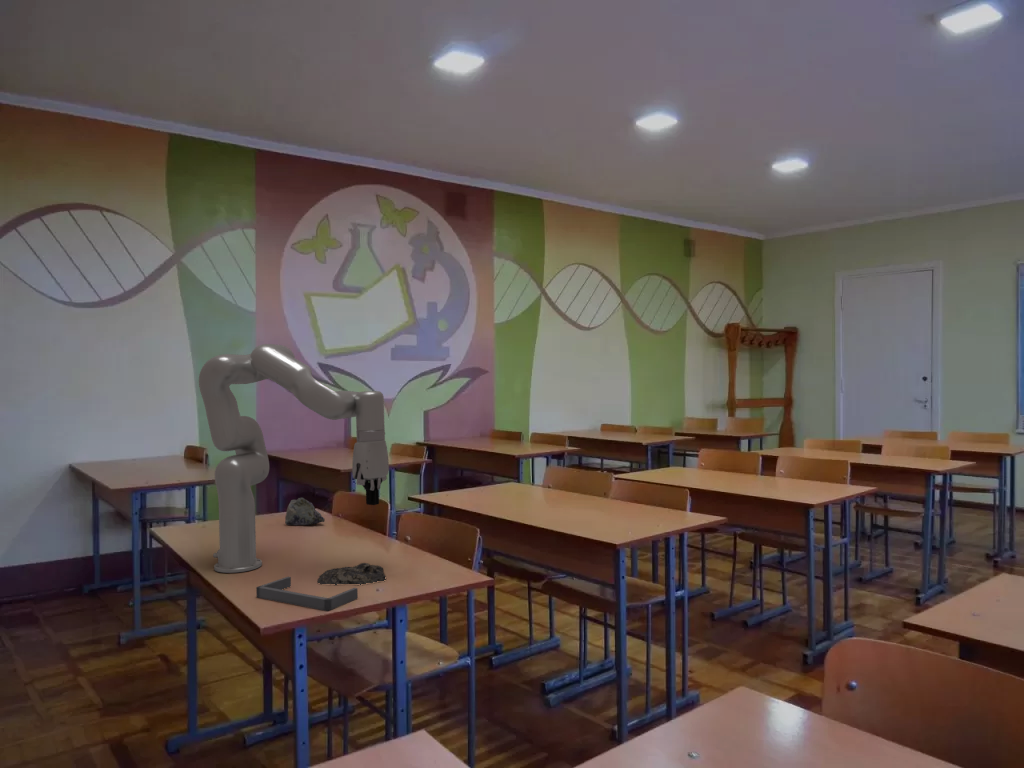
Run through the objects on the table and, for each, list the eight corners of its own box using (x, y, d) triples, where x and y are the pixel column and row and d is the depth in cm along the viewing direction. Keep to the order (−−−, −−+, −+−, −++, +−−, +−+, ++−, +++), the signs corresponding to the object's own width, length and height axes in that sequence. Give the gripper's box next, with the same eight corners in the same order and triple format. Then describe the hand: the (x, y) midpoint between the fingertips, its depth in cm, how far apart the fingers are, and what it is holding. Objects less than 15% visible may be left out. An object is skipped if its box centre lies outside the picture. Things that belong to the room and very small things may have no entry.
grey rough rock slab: (401, 580, 191) (374, 568, 203) (400, 565, 191) (374, 554, 203) (333, 595, 179) (309, 581, 191) (332, 579, 179) (309, 567, 191)
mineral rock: (326, 525, 259) (326, 497, 259) (298, 530, 252) (297, 501, 252) (309, 520, 269) (309, 493, 269) (282, 525, 261) (281, 497, 261)
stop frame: (256, 597, 176) (256, 587, 176) (288, 586, 185) (287, 576, 185) (327, 611, 165) (327, 600, 165) (357, 598, 174) (357, 588, 174)
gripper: (378, 434, 204) (380, 499, 204) (340, 438, 191) (342, 508, 192) (399, 434, 200) (401, 500, 201) (361, 439, 188) (364, 510, 188)
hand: (372, 504), depth 196 cm, fingers closed
